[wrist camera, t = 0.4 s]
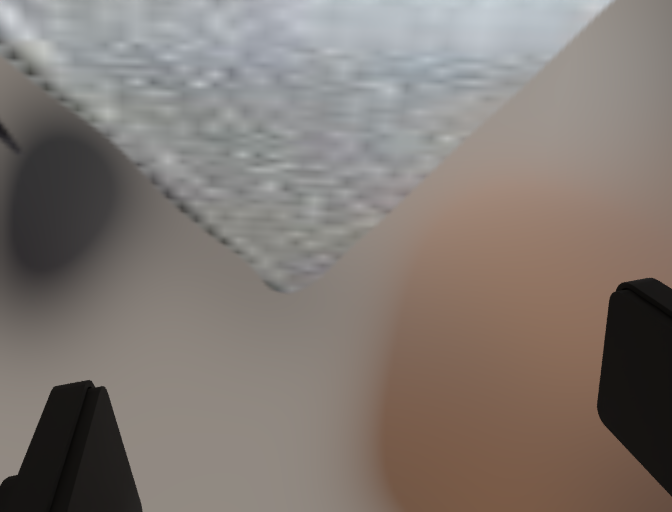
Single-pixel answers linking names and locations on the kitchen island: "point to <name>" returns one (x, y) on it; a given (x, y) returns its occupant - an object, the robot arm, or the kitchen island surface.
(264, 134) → the kitchen island surface
